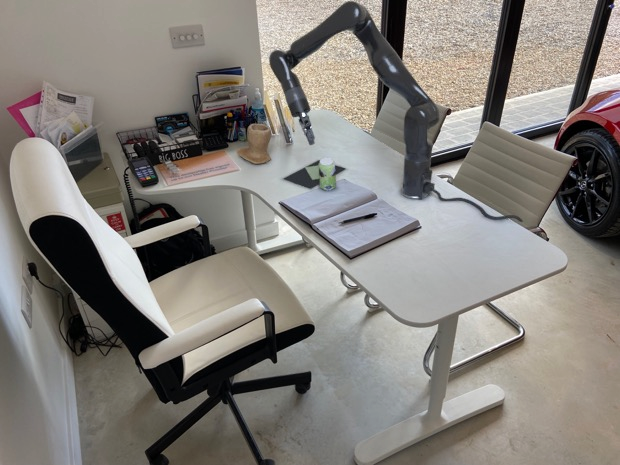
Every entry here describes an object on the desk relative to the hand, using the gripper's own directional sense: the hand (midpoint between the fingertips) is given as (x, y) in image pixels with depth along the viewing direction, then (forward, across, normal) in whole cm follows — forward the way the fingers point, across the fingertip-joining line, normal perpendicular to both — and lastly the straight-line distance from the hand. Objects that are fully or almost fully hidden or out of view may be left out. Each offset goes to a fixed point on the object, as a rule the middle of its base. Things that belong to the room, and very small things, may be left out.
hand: (312, 142), depth 185 cm
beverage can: (+18, +2, +1) cm, 18 cm away
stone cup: (-6, +28, +23) cm, 37 cm away
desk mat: (+10, +13, +3) cm, 16 cm away
